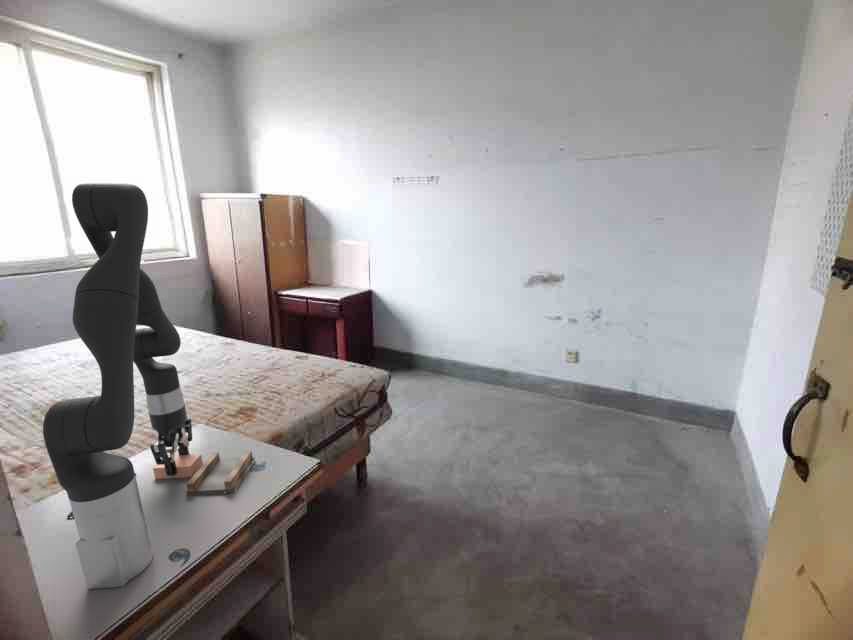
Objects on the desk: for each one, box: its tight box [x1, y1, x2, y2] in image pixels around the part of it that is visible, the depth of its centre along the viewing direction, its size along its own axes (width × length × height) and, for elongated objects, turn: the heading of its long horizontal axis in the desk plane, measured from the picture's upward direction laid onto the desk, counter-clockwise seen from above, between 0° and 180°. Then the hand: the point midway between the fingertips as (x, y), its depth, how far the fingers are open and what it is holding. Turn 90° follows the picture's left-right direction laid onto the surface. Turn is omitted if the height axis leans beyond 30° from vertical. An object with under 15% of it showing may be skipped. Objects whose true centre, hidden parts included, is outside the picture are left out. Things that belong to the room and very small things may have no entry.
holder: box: [185, 450, 256, 496], centre depth 100 cm, size 13×11×3 cm
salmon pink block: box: [152, 453, 204, 480], centre depth 103 cm, size 9×6×3 cm, turn 93°
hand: (178, 467), depth 104 cm, fingers closed on salmon pink block, 5 cm apart
